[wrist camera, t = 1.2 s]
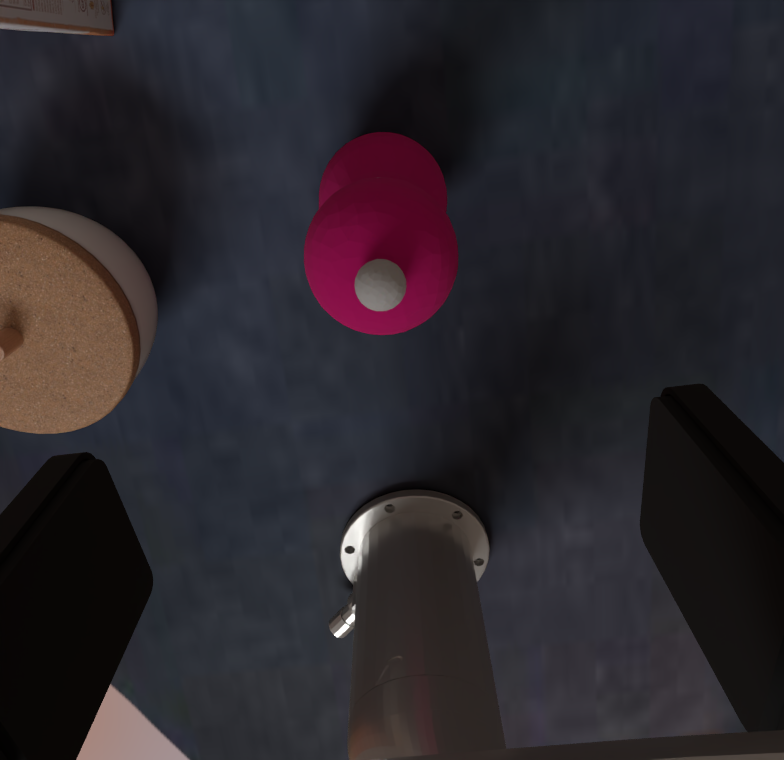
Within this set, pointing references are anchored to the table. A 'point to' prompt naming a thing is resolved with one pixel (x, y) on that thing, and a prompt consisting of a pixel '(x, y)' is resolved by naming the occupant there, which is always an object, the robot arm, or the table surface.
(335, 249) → the pepper mill
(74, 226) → the lidded bowl
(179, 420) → the table surface
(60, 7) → the cracker box
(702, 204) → the table surface
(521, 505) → the table surface
